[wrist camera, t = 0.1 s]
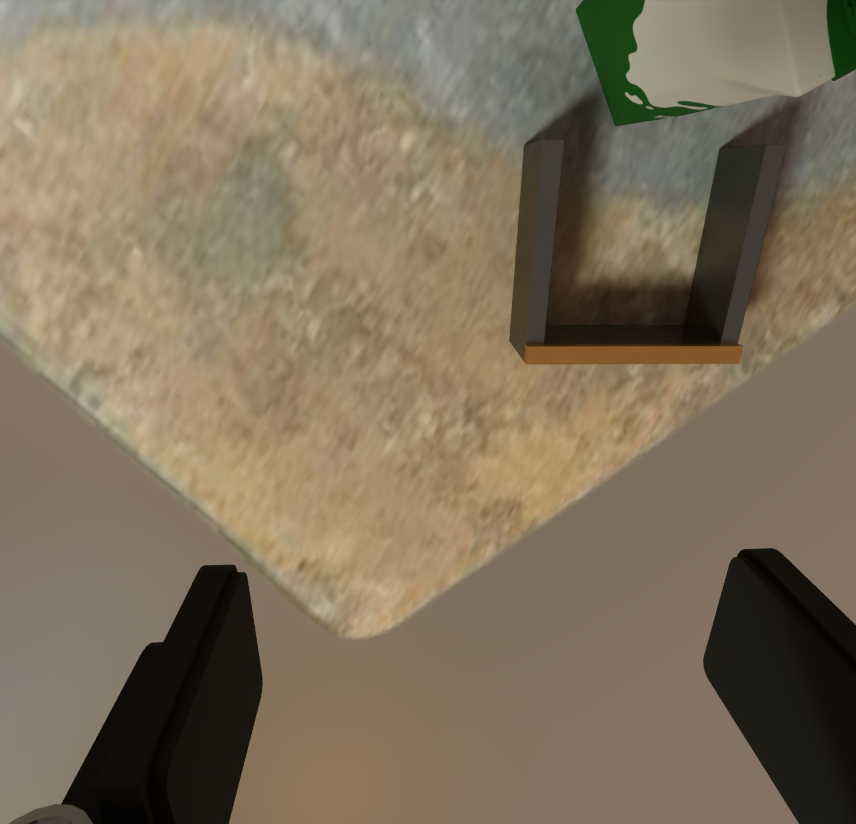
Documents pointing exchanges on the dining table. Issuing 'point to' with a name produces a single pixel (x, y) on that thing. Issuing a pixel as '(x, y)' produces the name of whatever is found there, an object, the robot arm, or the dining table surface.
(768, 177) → the bracket
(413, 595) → the dining table surface
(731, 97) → the soya milk
